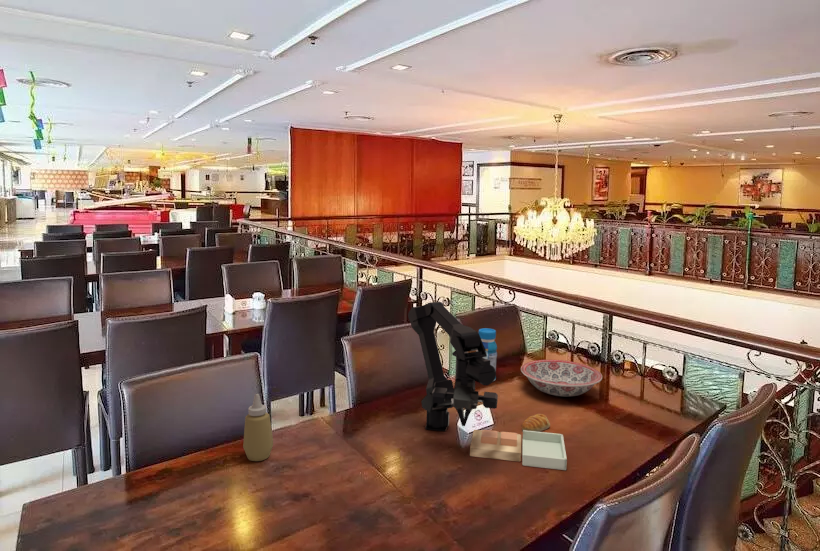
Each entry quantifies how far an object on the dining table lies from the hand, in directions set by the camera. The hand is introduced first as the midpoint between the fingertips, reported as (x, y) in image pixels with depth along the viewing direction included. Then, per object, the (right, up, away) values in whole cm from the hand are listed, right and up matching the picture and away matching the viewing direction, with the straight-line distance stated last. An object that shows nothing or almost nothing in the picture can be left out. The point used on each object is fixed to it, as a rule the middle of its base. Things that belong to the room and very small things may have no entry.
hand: (463, 425), depth 160 cm
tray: (+22, -7, -4) cm, 24 cm away
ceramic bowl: (+40, 0, +45) cm, 61 cm away
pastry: (+24, -5, +14) cm, 28 cm away
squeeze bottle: (-57, -7, -8) cm, 58 cm away
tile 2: (+13, -4, -2) cm, 14 cm away
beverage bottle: (+14, +2, +57) cm, 59 cm away
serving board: (+9, -7, -1) cm, 11 cm away
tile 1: (+7, -4, -1) cm, 8 cm away
